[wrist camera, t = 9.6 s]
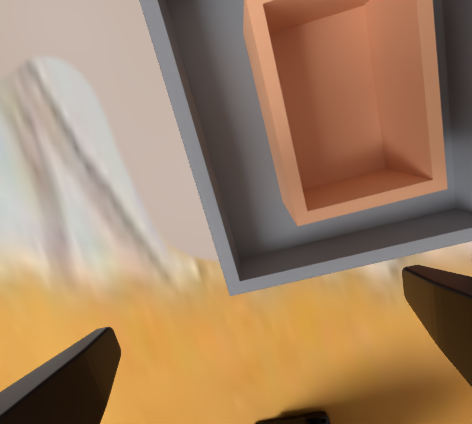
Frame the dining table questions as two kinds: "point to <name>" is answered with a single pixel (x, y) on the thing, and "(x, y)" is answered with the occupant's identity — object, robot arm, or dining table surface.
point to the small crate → (348, 101)
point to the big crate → (261, 162)
